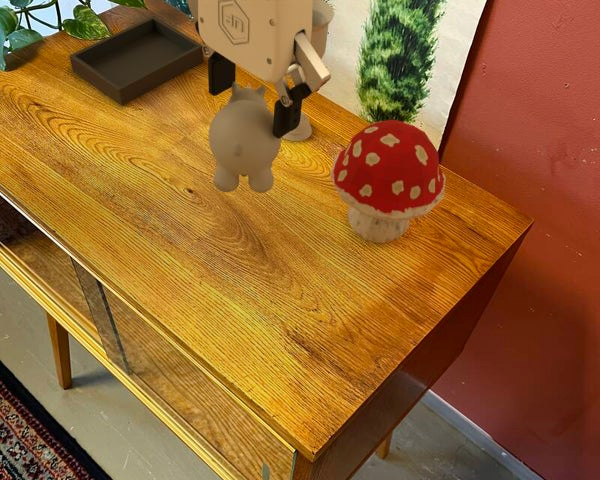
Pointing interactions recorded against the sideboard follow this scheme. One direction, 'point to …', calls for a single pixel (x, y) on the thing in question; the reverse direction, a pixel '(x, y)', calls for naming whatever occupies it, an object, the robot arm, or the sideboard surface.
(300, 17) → the robot arm
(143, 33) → the tray
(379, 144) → the decorative mushroom
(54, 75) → the sideboard surface
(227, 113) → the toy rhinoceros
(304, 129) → the chalice
